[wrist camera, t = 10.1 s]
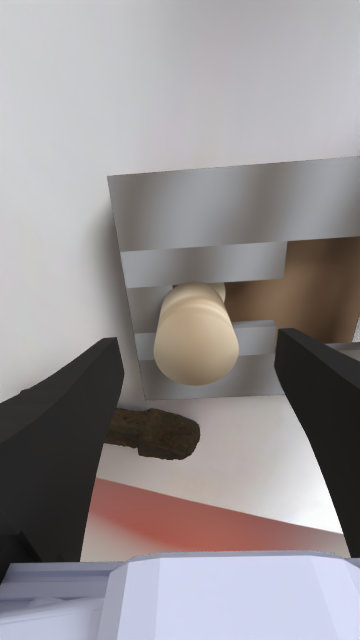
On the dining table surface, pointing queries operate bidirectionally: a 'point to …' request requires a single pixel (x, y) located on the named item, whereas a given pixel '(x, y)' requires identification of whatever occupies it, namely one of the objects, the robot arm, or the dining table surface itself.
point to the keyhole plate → (244, 259)
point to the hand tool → (153, 433)
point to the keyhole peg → (195, 335)
